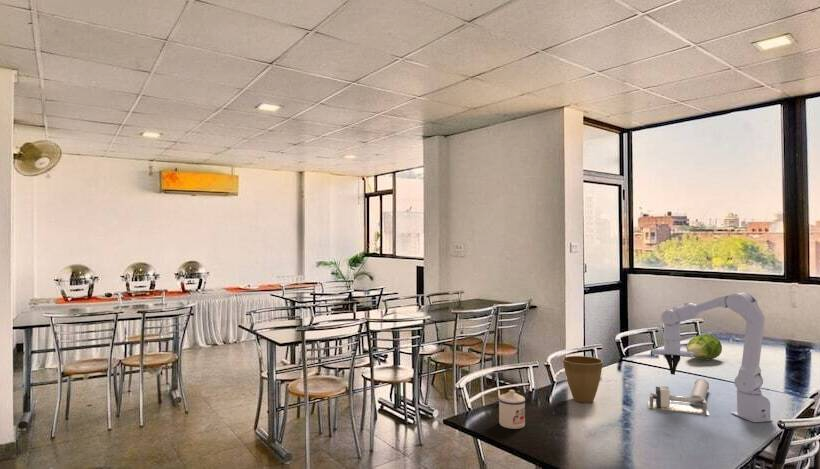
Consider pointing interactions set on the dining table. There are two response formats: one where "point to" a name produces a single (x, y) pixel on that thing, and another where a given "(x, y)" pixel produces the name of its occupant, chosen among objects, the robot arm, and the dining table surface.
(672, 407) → the rod rig
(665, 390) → the sleeve
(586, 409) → the dining table surface
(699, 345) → the lettuce
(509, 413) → the teacup with lid
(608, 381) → the dining table surface
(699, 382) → the tube
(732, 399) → the dining table surface
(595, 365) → the plant pot
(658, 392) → the dark gray slab
